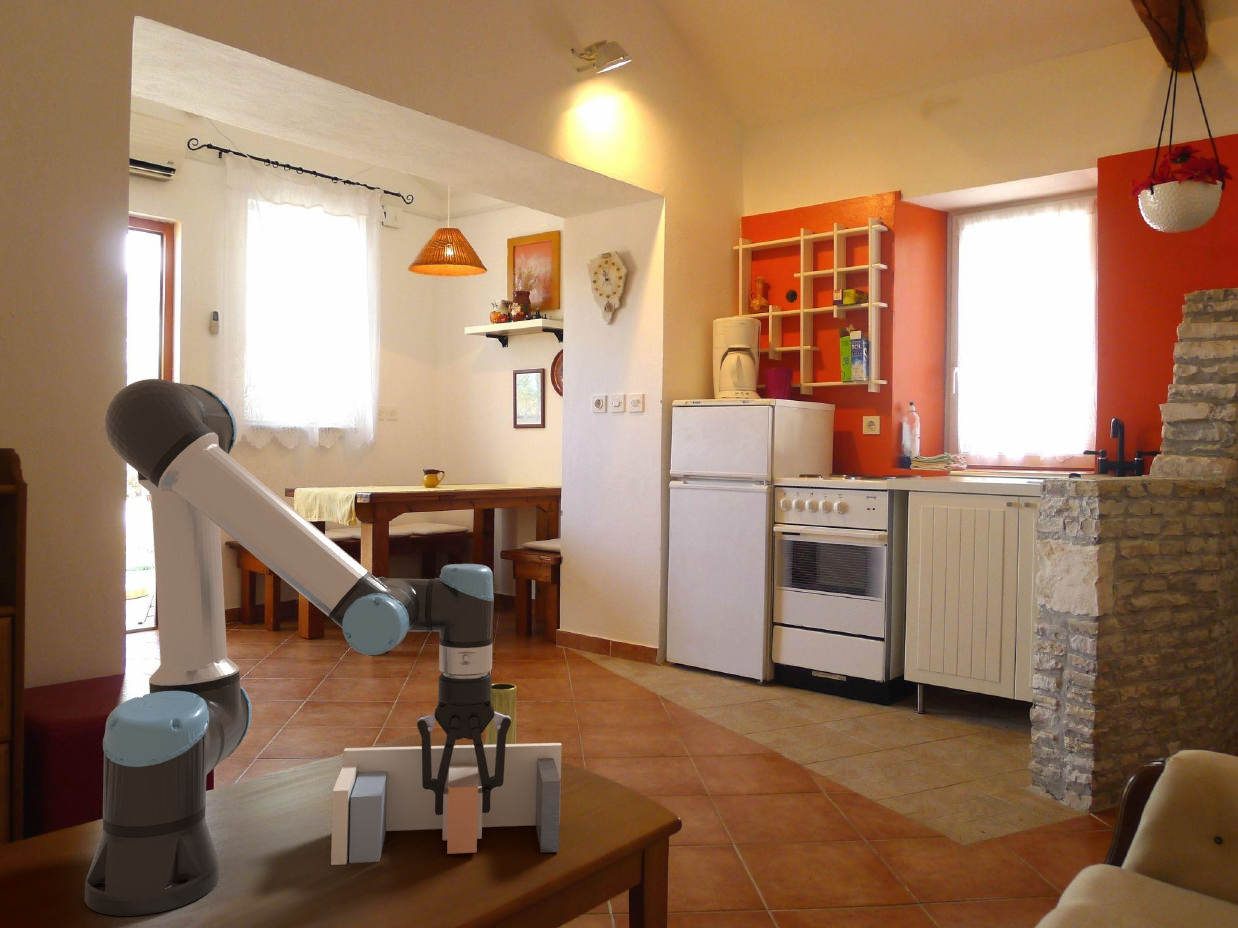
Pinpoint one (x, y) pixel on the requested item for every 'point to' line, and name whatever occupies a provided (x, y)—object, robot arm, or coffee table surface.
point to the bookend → (547, 805)
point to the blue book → (368, 817)
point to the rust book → (462, 809)
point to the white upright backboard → (417, 805)
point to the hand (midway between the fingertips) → (462, 834)
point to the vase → (503, 711)
